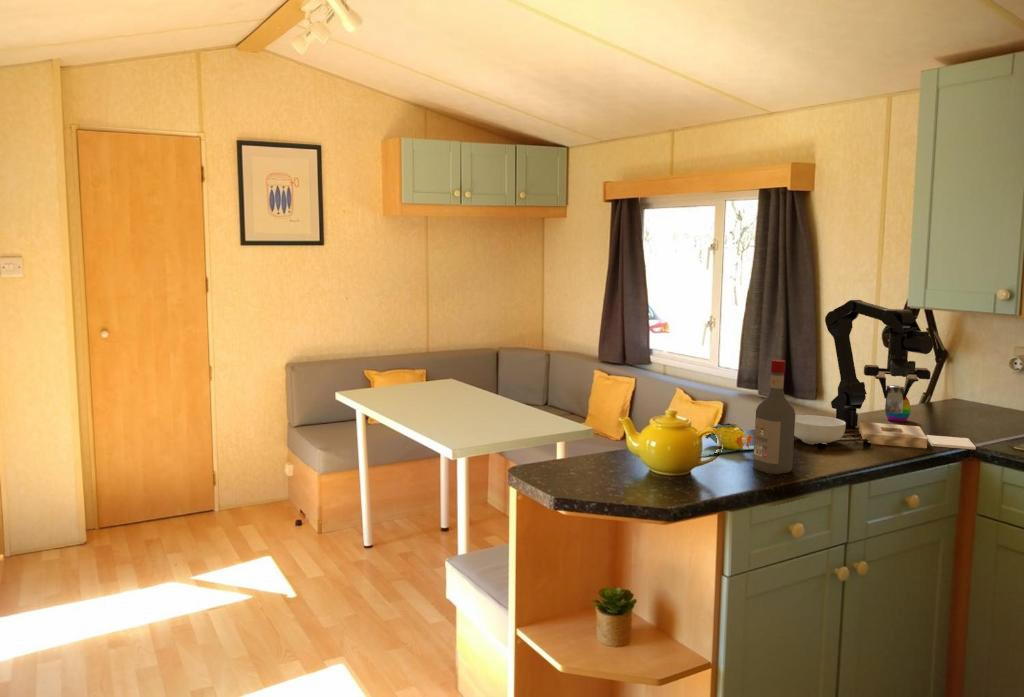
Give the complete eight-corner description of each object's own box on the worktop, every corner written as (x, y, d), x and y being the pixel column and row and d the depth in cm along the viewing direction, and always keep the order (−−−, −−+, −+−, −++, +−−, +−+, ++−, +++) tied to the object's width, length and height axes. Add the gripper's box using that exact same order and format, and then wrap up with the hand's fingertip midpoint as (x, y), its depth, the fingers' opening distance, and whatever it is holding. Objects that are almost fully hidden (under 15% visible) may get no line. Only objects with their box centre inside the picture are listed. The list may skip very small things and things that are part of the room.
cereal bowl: (856, 444, 262) (857, 422, 262) (820, 451, 254) (821, 428, 253) (810, 433, 277) (812, 412, 276) (775, 439, 268) (776, 417, 267)
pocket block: (862, 443, 265) (863, 433, 264) (858, 430, 282) (859, 421, 281) (926, 448, 259) (927, 438, 259) (918, 435, 276) (919, 426, 276)
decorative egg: (915, 422, 296) (917, 394, 295) (894, 423, 294) (896, 394, 293) (899, 417, 304) (901, 389, 303) (879, 418, 302) (881, 390, 301)
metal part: (885, 412, 268) (887, 387, 267) (884, 409, 272) (886, 384, 271) (903, 413, 266) (905, 388, 265) (901, 410, 271) (903, 385, 270)
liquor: (772, 475, 227) (778, 364, 223) (747, 467, 235) (753, 359, 231) (797, 471, 231) (803, 361, 227) (771, 463, 239) (778, 357, 235)
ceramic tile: (931, 446, 262) (932, 443, 262) (926, 437, 274) (926, 434, 274) (975, 449, 259) (975, 447, 259) (967, 440, 270) (968, 438, 270)
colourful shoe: (707, 432, 240) (675, 422, 253) (706, 462, 241) (674, 450, 254) (784, 424, 251) (750, 415, 265) (783, 453, 252) (749, 442, 266)
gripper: (868, 351, 262) (864, 401, 264) (935, 355, 256) (930, 406, 258) (865, 347, 272) (861, 395, 275) (929, 350, 267) (925, 399, 269)
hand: (894, 399), depth 269 cm, fingers closed on metal part, 5 cm apart
